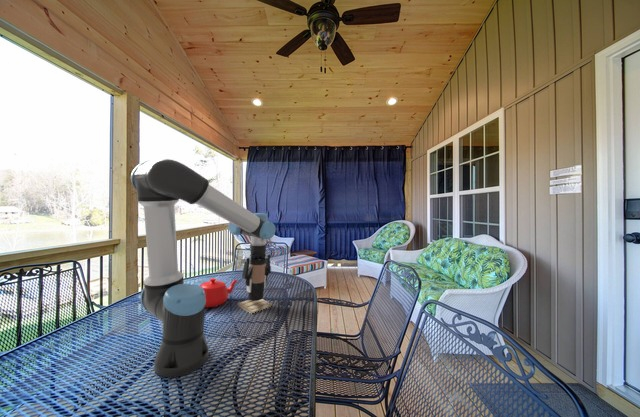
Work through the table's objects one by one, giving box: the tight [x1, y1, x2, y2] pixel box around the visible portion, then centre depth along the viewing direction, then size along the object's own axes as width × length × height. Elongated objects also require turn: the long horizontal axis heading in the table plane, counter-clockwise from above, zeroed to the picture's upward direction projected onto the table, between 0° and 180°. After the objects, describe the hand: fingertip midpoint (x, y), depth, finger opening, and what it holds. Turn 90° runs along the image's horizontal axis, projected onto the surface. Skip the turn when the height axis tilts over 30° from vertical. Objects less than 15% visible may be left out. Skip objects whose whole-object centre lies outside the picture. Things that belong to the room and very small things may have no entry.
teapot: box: [199, 277, 239, 309], centre depth 119 cm, size 25×16×12 cm, turn 133°
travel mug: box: [247, 258, 266, 301], centre depth 117 cm, size 8×8×20 cm
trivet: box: [237, 298, 273, 315], centre depth 118 cm, size 12×12×2 cm
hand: (256, 289), depth 117 cm, fingers closed on travel mug, 8 cm apart
